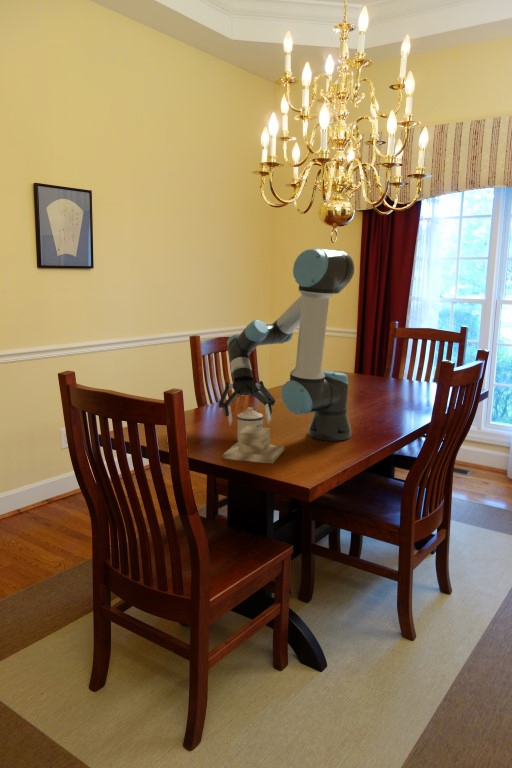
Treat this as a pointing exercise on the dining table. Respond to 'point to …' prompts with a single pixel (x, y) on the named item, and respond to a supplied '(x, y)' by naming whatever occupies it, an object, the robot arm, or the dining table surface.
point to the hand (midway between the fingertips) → (250, 422)
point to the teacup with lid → (249, 420)
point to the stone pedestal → (254, 446)
